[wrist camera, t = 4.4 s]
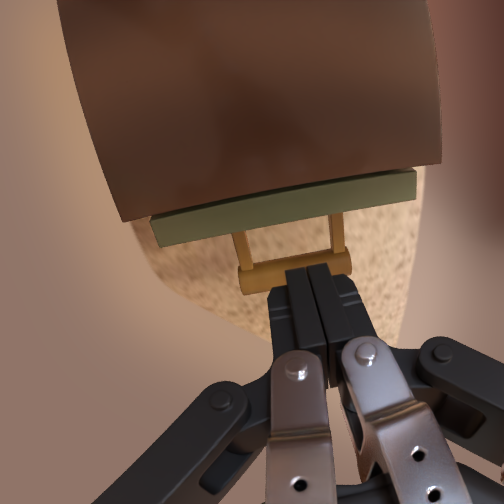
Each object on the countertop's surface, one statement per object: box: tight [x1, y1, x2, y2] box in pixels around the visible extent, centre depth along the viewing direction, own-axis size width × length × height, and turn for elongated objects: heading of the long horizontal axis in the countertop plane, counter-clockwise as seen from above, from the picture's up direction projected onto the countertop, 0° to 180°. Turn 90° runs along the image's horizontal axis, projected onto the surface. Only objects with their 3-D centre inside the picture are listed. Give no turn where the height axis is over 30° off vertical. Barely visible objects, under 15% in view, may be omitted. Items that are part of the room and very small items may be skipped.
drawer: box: [149, 167, 417, 295], centre depth 12 cm, size 18×10×7 cm, turn 11°
